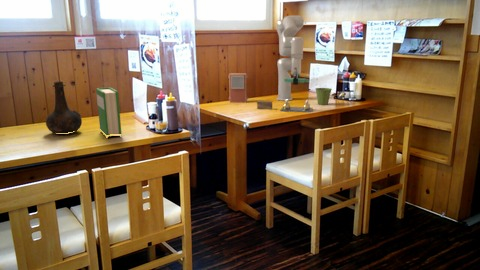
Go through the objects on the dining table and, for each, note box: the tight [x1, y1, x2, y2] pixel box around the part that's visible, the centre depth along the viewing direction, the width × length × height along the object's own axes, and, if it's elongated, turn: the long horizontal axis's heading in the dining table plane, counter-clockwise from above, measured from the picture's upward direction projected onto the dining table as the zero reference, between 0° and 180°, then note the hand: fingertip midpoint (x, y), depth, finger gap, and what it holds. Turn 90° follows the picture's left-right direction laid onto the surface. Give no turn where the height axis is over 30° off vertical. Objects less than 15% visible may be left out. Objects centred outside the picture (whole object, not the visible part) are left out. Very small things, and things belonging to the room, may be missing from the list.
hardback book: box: [95, 87, 122, 135], centre depth 221 cm, size 18×7×24 cm, turn 29°
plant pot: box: [315, 87, 333, 106], centre depth 302 cm, size 12×12×11 cm
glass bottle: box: [45, 80, 83, 134], centre depth 225 cm, size 18×18×28 cm
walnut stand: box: [256, 100, 273, 110], centre depth 289 cm, size 3×10×5 cm, turn 73°
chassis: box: [279, 99, 314, 113], centre depth 283 cm, size 12×20×7 cm, turn 73°
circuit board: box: [284, 77, 310, 84], centre depth 279 cm, size 7×16×2 cm, turn 73°
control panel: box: [227, 72, 249, 104], centre depth 316 cm, size 21×7×15 cm
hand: (296, 83), depth 279 cm, fingers closed on circuit board, 7 cm apart
